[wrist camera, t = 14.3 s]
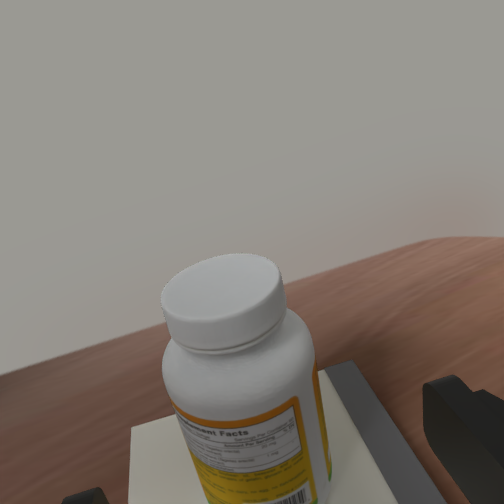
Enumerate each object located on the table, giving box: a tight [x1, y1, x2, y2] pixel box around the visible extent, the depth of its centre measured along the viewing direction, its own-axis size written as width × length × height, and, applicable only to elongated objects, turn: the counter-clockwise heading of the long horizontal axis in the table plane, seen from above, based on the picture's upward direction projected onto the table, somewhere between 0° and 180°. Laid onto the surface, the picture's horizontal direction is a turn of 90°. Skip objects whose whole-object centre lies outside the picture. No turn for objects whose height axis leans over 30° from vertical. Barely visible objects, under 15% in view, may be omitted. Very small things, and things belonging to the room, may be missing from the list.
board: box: [128, 360, 447, 504], centre depth 19 cm, size 12×10×1 cm
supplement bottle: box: [161, 253, 332, 504], centre depth 16 cm, size 5×5×10 cm
